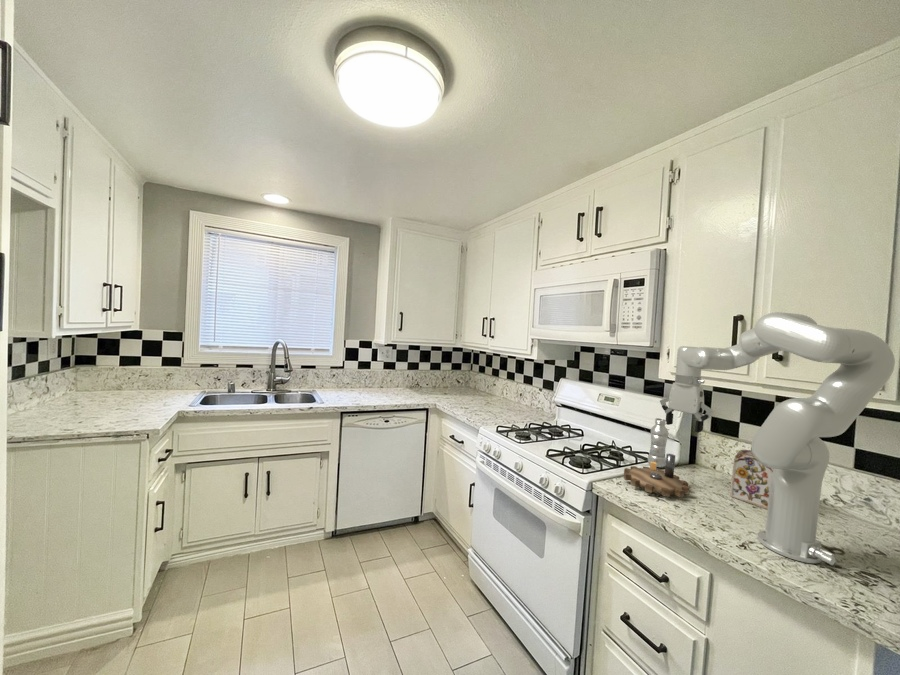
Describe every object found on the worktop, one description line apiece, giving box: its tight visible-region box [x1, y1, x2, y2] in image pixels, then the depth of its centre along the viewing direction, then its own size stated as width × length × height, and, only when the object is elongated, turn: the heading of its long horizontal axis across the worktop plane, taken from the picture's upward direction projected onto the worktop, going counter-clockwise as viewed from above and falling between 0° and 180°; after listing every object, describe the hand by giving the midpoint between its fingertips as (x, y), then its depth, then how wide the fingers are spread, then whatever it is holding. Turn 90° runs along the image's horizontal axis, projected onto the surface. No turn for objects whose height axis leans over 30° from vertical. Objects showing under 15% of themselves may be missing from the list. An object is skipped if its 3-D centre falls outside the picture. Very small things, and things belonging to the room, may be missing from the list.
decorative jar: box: [729, 448, 774, 511], centre depth 123 cm, size 12×12×18 cm
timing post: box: [649, 461, 657, 470], centre depth 139 cm, size 2×2×5 cm
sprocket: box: [623, 453, 691, 498], centre depth 128 cm, size 21×21×10 cm
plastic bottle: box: [647, 417, 669, 468], centre depth 149 cm, size 6×7×20 cm
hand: (683, 427), depth 128 cm, fingers open, 9 cm apart
